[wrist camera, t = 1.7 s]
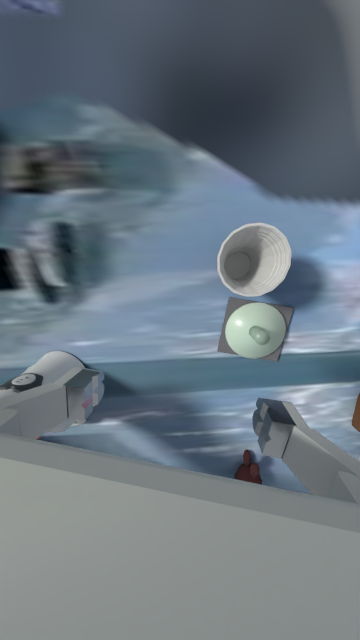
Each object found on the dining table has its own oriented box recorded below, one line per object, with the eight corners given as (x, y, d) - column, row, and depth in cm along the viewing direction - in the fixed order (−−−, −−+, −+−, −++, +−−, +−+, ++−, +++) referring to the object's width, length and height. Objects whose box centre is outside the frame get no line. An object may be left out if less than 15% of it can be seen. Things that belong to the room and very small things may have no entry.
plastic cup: (228, 227, 37) (244, 206, 26) (273, 254, 38) (307, 245, 26) (201, 274, 40) (204, 275, 28) (243, 299, 41) (262, 309, 29)
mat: (275, 360, 43) (277, 361, 43) (217, 350, 44) (217, 351, 43) (292, 307, 40) (293, 307, 39) (229, 297, 41) (229, 297, 40)
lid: (274, 361, 43) (285, 372, 38) (219, 351, 43) (223, 362, 38) (291, 307, 40) (305, 312, 34) (232, 297, 40) (237, 301, 35)
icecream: (264, 517, 47) (273, 468, 45) (238, 522, 46) (246, 471, 44) (250, 488, 54) (256, 444, 52) (226, 492, 53) (232, 447, 50)
